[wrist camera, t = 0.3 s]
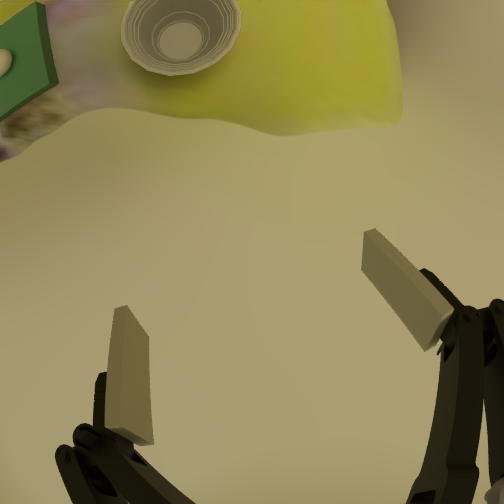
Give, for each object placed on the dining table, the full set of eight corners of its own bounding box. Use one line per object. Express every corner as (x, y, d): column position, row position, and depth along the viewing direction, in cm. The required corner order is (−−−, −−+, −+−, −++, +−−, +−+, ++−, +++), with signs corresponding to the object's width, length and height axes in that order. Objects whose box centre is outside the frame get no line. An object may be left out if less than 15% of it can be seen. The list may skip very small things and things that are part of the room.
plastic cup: (132, 79, 28) (110, 75, 18) (146, 5, 22) (133, -27, 12) (215, 83, 31) (231, 81, 21) (230, 11, 25) (252, -18, 16)
